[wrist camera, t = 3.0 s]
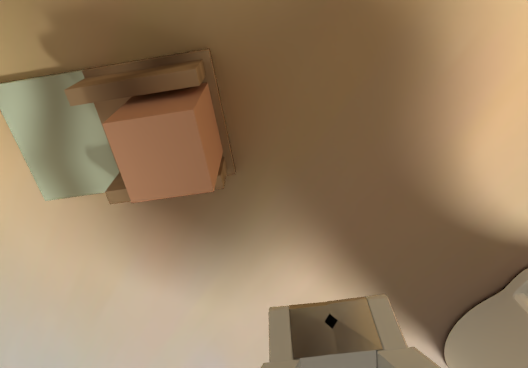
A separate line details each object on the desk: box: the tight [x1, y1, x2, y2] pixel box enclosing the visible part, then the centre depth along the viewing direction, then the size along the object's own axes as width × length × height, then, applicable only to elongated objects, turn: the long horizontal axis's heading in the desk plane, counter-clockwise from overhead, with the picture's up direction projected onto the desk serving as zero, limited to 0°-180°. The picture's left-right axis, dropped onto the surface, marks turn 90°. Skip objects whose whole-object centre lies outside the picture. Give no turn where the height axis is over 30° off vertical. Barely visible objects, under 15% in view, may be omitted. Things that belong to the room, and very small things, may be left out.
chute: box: [0, 49, 236, 204], centre depth 26 cm, size 15×9×4 cm, turn 99°
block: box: [102, 82, 223, 203], centre depth 24 cm, size 5×5×6 cm
